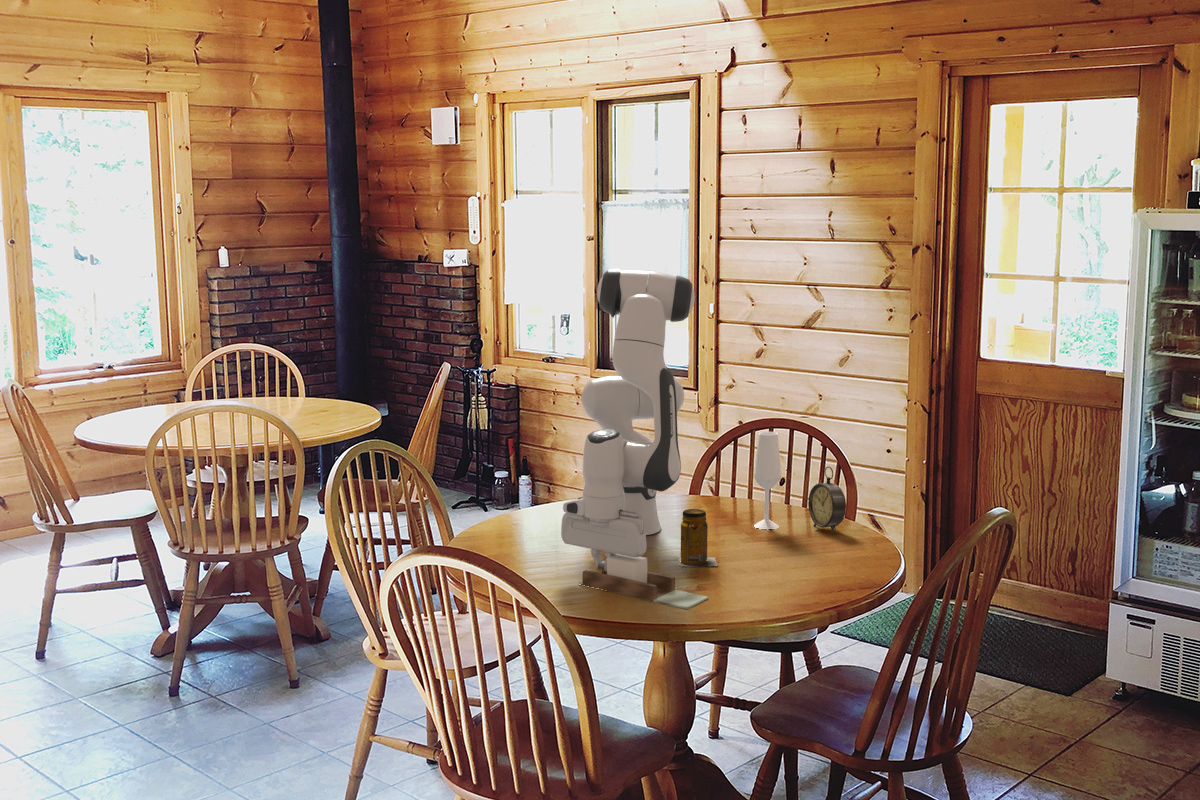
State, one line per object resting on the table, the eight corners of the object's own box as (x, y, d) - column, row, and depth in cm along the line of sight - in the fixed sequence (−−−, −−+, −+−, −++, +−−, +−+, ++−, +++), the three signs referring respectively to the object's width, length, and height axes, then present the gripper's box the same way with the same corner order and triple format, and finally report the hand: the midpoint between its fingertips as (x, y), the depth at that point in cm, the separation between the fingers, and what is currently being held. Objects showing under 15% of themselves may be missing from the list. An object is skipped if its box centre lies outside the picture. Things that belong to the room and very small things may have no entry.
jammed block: (606, 585, 248) (606, 557, 247) (619, 579, 252) (619, 552, 251) (634, 591, 244) (634, 563, 243) (647, 585, 248) (647, 557, 247)
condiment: (678, 558, 271) (678, 507, 269) (715, 558, 271) (715, 507, 269) (680, 567, 263) (680, 515, 262) (717, 567, 263) (718, 515, 261)
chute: (578, 585, 250) (578, 570, 250) (601, 575, 257) (601, 561, 257) (687, 609, 235) (687, 593, 234) (708, 598, 242) (708, 583, 241)
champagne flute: (749, 528, 296) (751, 434, 292) (756, 522, 302) (758, 430, 298) (776, 531, 293) (778, 436, 290) (782, 524, 300) (784, 432, 296)
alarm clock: (806, 526, 298) (807, 463, 296) (824, 523, 301) (826, 461, 298) (831, 536, 289) (832, 471, 286) (849, 534, 291) (851, 469, 288)
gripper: (652, 511, 246) (652, 575, 248) (574, 497, 257) (574, 558, 259) (635, 517, 240) (635, 582, 243) (556, 503, 252) (557, 565, 254)
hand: (603, 570), depth 251 cm, fingers closed
